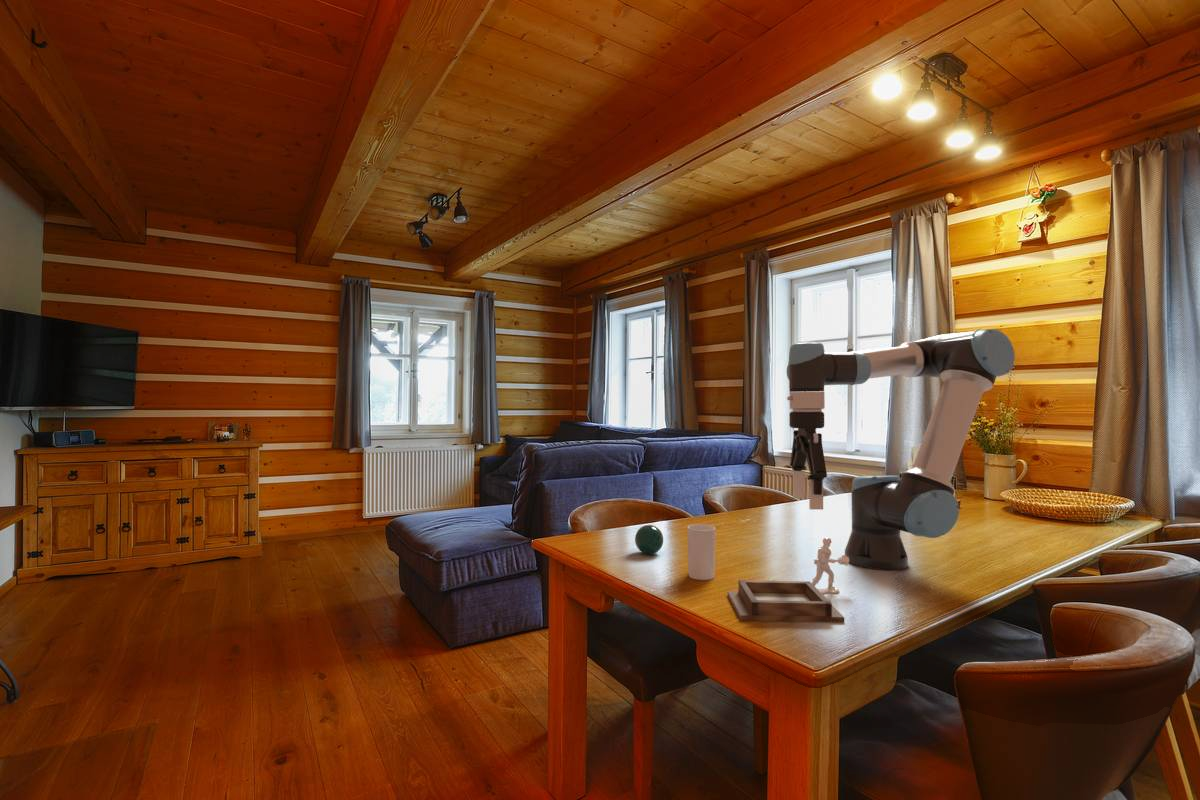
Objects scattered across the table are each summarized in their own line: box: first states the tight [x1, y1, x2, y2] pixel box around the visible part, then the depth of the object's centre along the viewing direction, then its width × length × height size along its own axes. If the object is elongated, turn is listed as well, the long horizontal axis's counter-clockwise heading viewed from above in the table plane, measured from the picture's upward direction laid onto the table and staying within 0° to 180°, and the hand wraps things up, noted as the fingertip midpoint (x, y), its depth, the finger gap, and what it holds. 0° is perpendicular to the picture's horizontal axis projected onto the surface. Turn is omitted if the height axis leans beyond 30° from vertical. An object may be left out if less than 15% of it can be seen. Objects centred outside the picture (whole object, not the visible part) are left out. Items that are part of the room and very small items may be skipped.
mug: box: [687, 523, 716, 581], centre depth 140 cm, size 10×7×12 cm, turn 176°
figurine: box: [811, 537, 850, 595], centre depth 128 cm, size 5×9×12 cm, turn 113°
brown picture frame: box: [727, 579, 845, 623], centre depth 118 cm, size 20×14×4 cm
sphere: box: [634, 524, 664, 555], centre depth 159 cm, size 8×8×8 cm
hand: (807, 503), depth 130 cm, fingers open, 13 cm apart
